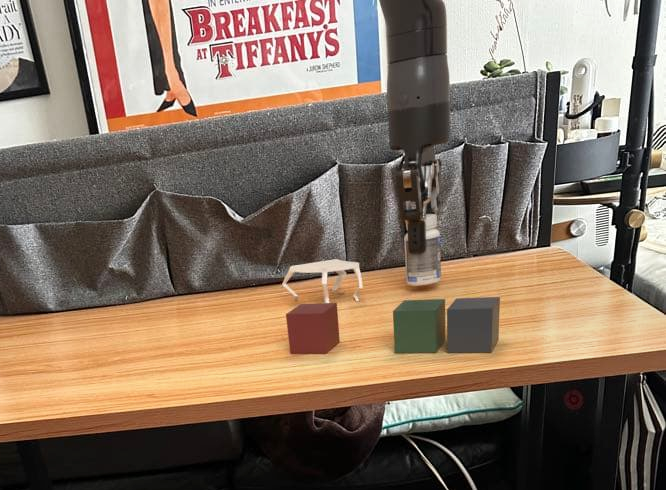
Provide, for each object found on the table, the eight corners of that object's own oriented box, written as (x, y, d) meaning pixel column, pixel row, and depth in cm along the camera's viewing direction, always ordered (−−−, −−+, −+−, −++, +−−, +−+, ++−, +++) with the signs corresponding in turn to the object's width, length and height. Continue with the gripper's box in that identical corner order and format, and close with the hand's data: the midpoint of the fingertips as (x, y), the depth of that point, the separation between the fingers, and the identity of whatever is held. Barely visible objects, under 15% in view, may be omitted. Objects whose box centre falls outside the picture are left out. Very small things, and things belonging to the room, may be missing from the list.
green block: (445, 340, 78) (445, 298, 75) (436, 353, 74) (435, 309, 72) (405, 341, 79) (403, 300, 77) (394, 353, 76) (392, 310, 74)
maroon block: (339, 341, 83) (336, 302, 80) (326, 353, 79) (323, 313, 77) (304, 342, 84) (300, 303, 82) (290, 353, 81) (285, 314, 79)
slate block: (498, 339, 75) (499, 296, 73) (491, 352, 72) (492, 307, 70) (455, 340, 77) (456, 298, 75) (446, 352, 74) (446, 309, 72)
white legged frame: (368, 289, 105) (366, 253, 102) (363, 302, 98) (361, 264, 95) (287, 296, 107) (283, 262, 105) (277, 310, 100) (272, 273, 98)
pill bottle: (446, 281, 98) (445, 214, 93) (413, 288, 97) (411, 220, 93) (432, 276, 102) (431, 212, 98) (400, 282, 101) (398, 218, 97)
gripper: (435, 100, 82) (438, 258, 90) (461, 96, 93) (461, 237, 101) (371, 110, 85) (380, 262, 93) (403, 105, 96) (408, 241, 104)
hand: (422, 248), depth 97 cm, fingers closed on pill bottle, 4 cm apart
